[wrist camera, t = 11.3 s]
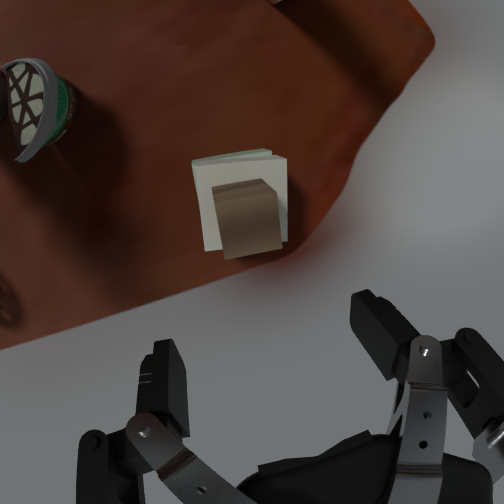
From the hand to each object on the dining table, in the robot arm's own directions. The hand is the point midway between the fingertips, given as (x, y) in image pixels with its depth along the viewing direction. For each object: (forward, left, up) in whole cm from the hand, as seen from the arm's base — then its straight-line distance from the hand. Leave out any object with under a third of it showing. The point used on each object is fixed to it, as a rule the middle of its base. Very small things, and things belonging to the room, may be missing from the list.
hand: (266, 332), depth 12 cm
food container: (-17, -17, -26) cm, 36 cm away
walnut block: (0, +2, -18) cm, 18 cm away
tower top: (0, +2, -22) cm, 23 cm away
